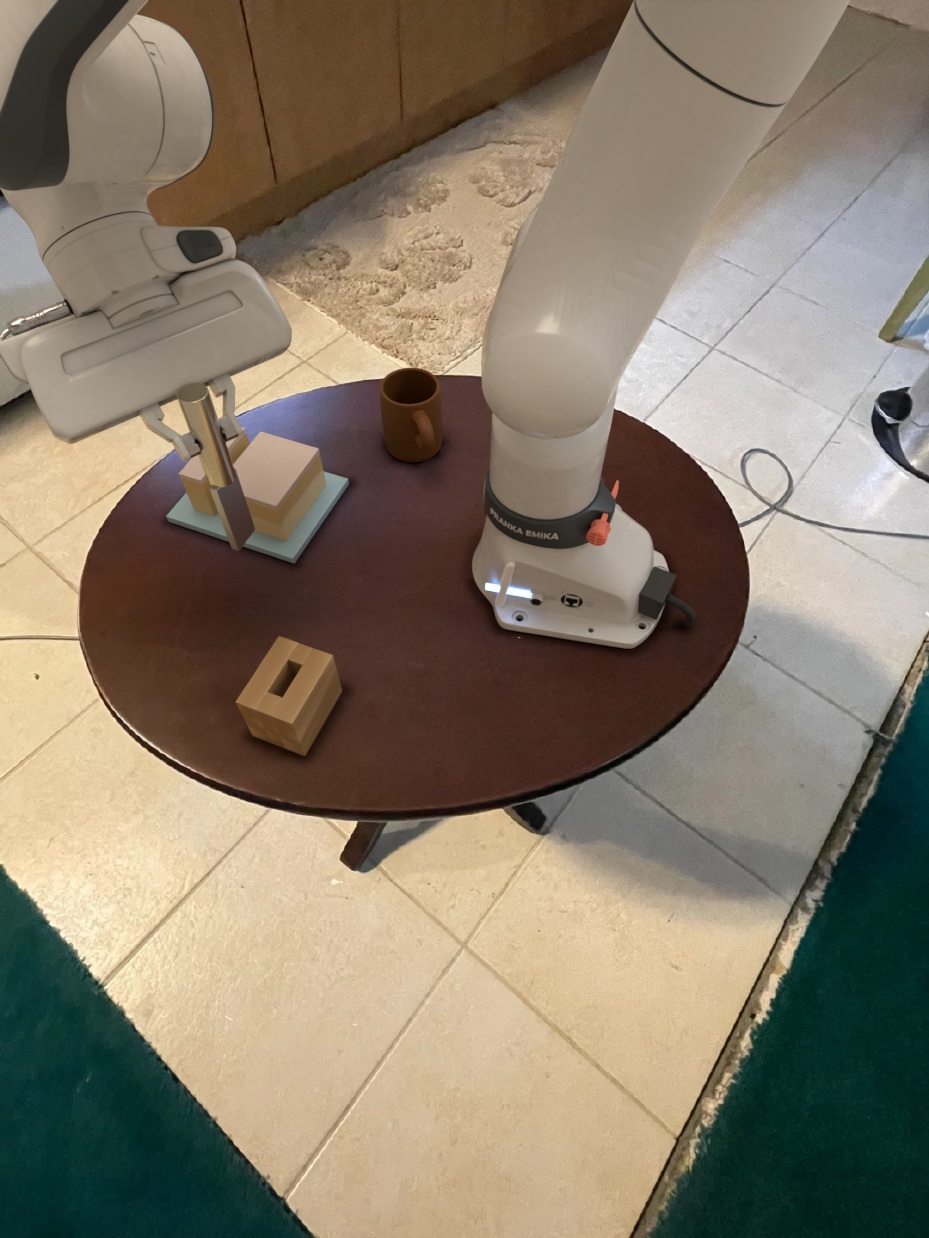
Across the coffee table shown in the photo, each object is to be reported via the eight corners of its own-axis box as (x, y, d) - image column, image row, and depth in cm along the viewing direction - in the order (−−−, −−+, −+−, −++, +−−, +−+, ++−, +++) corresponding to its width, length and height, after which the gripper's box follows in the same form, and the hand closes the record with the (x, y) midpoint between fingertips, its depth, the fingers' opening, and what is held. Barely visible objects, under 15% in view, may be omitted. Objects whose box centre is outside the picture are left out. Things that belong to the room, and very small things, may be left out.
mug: (460, 480, 97) (460, 422, 89) (402, 494, 95) (397, 436, 88) (433, 420, 103) (430, 361, 96) (378, 432, 102) (371, 373, 94)
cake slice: (256, 464, 97) (245, 427, 92) (214, 516, 92) (200, 480, 87) (235, 458, 98) (223, 421, 93) (193, 509, 93) (178, 473, 88)
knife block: (342, 690, 79) (333, 655, 74) (305, 756, 75) (292, 724, 69) (291, 672, 81) (278, 635, 75) (252, 735, 76) (235, 702, 71)
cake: (349, 484, 96) (342, 442, 91) (294, 564, 89) (282, 523, 83) (230, 448, 100) (216, 405, 94) (168, 521, 93) (148, 480, 87)
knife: (263, 531, 73) (216, 384, 59) (246, 554, 71) (194, 408, 57) (241, 524, 73) (189, 376, 59) (224, 546, 71) (167, 400, 58)
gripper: (-23, 316, 52) (90, 501, 55) (246, 222, 59) (330, 391, 63) (-11, 341, 58) (90, 507, 61) (233, 252, 65) (311, 405, 68)
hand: (214, 447), depth 62 cm, fingers closed on knife, 2 cm apart
